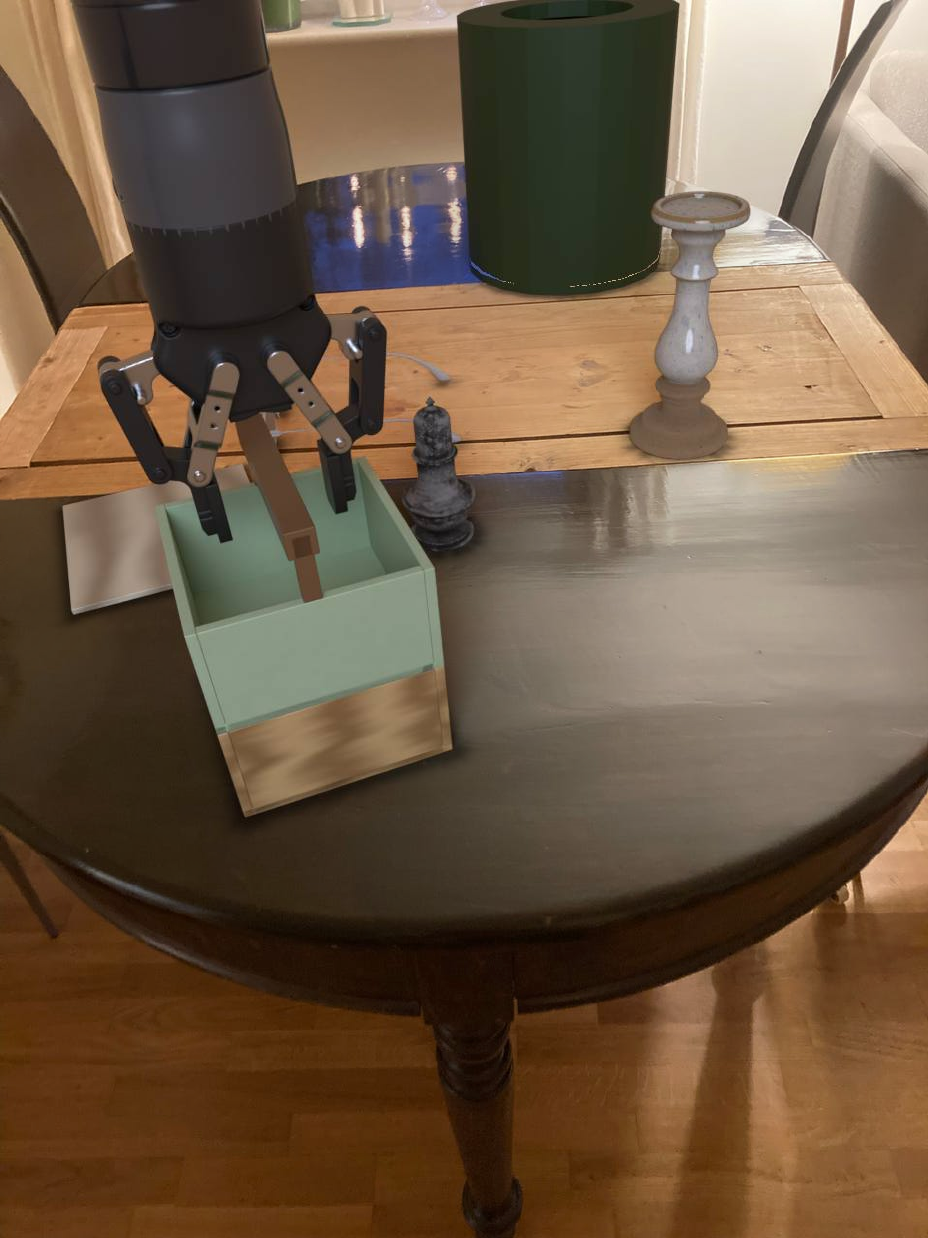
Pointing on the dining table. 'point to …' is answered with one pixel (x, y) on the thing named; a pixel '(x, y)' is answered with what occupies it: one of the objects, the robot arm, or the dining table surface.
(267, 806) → the brown wooden open box
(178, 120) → the robot arm
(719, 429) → the candle holder
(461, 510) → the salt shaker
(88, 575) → the placemat
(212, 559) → the top basket
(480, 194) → the flower pot
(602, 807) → the dining table surface
